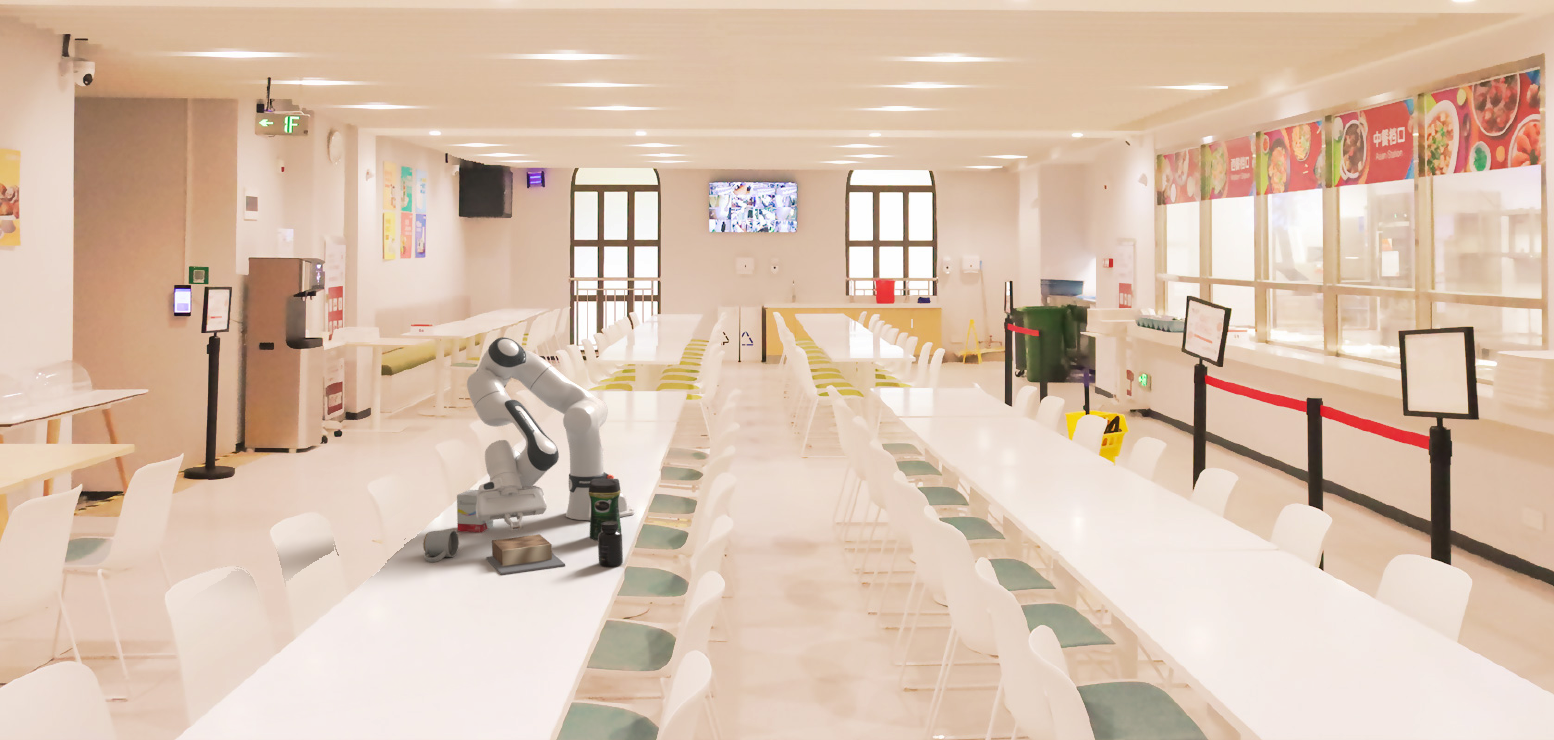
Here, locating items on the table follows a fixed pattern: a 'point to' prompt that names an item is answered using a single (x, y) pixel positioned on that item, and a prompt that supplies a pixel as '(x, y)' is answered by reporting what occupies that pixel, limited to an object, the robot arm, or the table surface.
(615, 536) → the supplement bottle
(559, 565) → the mat
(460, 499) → the ink box
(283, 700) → the table surface
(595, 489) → the coffee jar
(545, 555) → the walnut slab
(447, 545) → the ceramic mug
